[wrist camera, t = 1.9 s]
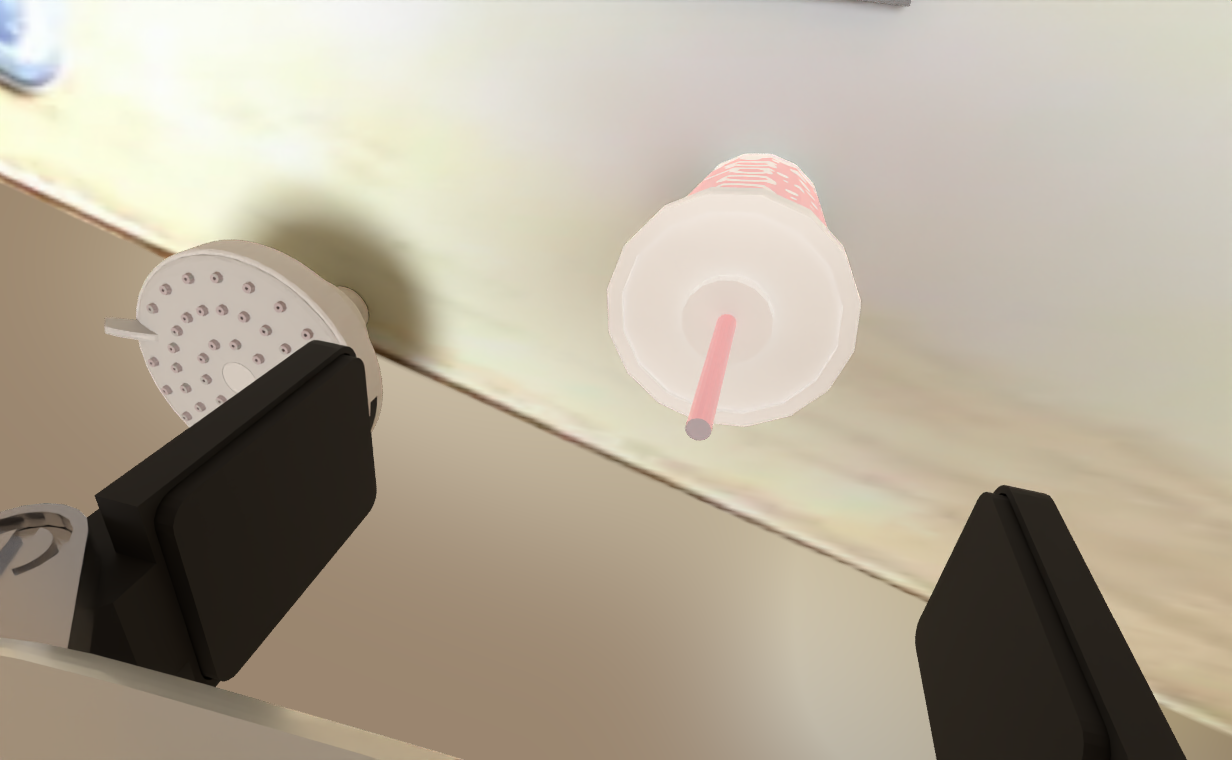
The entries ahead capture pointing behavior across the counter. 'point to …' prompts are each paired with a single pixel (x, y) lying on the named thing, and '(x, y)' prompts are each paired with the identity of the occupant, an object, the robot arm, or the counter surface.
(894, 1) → the ring holder
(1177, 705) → the counter surface
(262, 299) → the showerhead
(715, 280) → the beverage cup
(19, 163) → the counter surface
